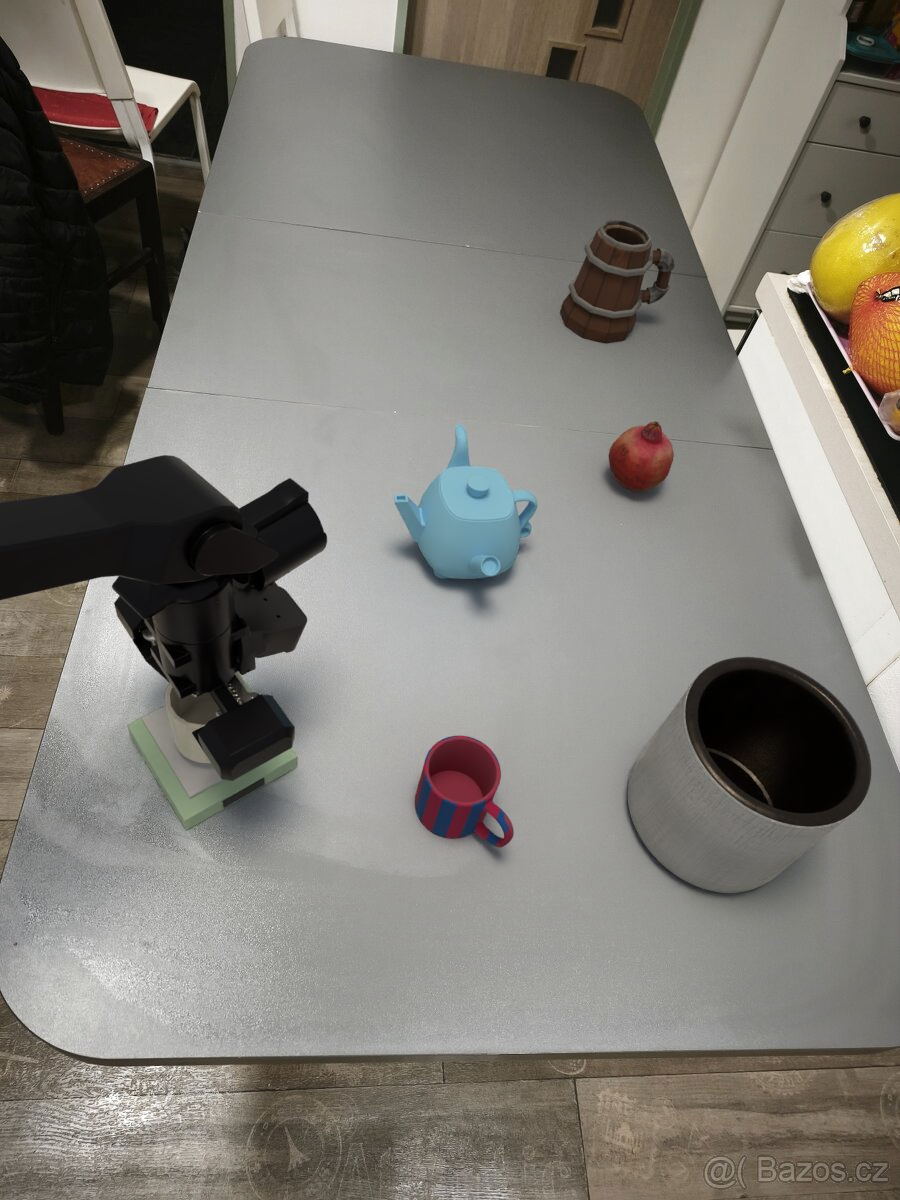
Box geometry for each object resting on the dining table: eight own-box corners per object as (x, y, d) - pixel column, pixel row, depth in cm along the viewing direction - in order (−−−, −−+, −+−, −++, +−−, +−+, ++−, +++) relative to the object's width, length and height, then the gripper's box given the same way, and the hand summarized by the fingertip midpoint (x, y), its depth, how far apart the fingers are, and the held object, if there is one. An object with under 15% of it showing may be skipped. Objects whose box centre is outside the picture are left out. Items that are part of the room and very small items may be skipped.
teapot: (371, 548, 93) (380, 475, 85) (445, 491, 101) (460, 418, 92) (477, 623, 89) (497, 554, 80) (545, 557, 97) (570, 488, 88)
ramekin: (194, 776, 69) (188, 741, 64) (159, 721, 72) (151, 684, 67) (261, 740, 72) (260, 704, 67) (226, 688, 75) (222, 650, 70)
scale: (187, 832, 70) (184, 820, 68) (129, 735, 74) (125, 722, 73) (298, 767, 75) (299, 755, 73) (238, 681, 80) (237, 667, 78)
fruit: (671, 495, 107) (701, 436, 100) (625, 511, 104) (652, 452, 96) (634, 456, 111) (660, 396, 104) (588, 471, 108) (611, 410, 100)
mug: (570, 341, 127) (598, 249, 115) (554, 298, 134) (579, 207, 122) (663, 347, 130) (700, 258, 118) (643, 305, 137) (676, 217, 126)
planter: (814, 883, 76) (913, 812, 64) (658, 911, 72) (733, 842, 60) (742, 732, 85) (816, 646, 73) (601, 749, 81) (655, 661, 69)
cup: (459, 759, 78) (471, 723, 73) (522, 845, 74) (540, 813, 68) (400, 791, 75) (409, 756, 70) (462, 884, 71) (476, 854, 65)
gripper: (359, 654, 59) (347, 757, 71) (231, 494, 67) (239, 611, 78) (218, 728, 53) (230, 826, 65) (96, 545, 61) (127, 662, 73)
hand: (209, 722), depth 71 cm, fingers closed on ramekin, 6 cm apart
